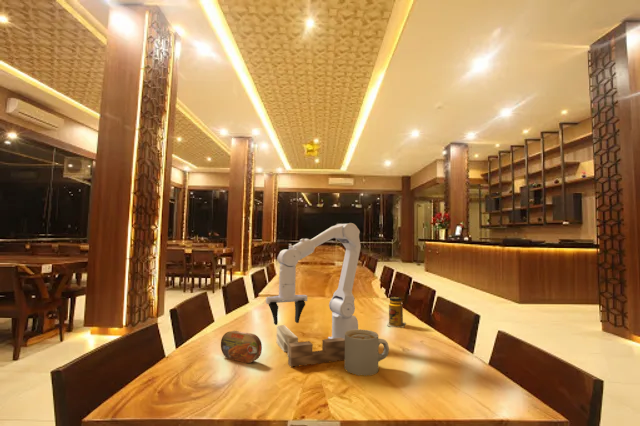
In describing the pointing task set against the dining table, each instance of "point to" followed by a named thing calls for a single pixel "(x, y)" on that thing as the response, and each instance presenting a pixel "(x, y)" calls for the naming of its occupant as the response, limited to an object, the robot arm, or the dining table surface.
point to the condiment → (396, 312)
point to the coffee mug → (363, 352)
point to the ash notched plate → (285, 337)
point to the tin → (241, 346)
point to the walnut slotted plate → (316, 352)
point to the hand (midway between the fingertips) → (286, 323)
